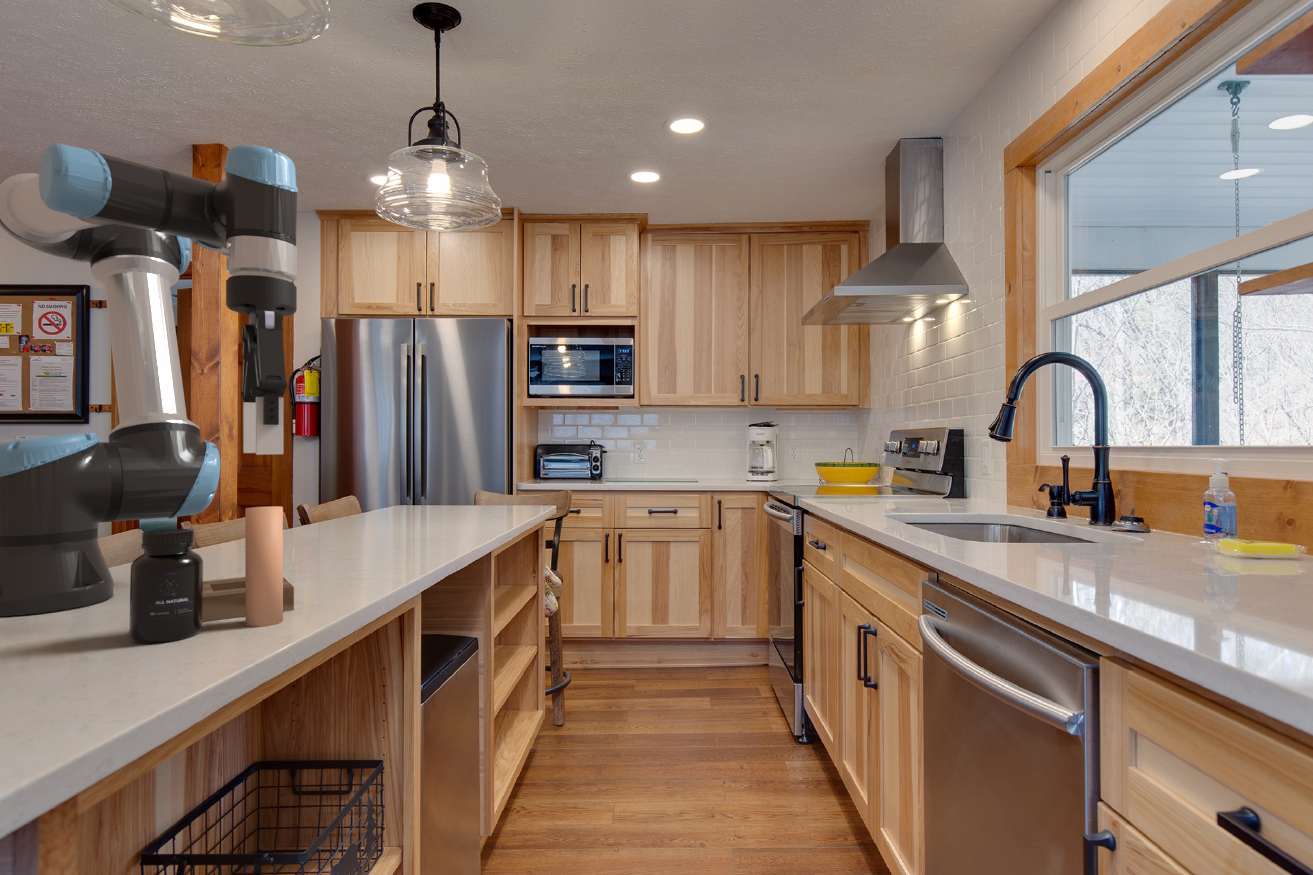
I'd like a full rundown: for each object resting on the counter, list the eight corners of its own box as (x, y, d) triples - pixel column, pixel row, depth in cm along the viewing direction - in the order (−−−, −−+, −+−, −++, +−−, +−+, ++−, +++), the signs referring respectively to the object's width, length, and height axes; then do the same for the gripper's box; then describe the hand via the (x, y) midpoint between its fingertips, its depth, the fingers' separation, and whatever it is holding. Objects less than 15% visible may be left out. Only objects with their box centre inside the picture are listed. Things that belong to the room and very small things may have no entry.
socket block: (179, 605, 95) (179, 583, 95) (279, 593, 102) (279, 573, 102) (183, 624, 85) (183, 599, 85) (293, 609, 92) (293, 586, 92)
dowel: (243, 621, 86) (243, 507, 86) (280, 616, 88) (280, 505, 88) (247, 628, 83) (247, 510, 83) (285, 623, 85) (285, 508, 85)
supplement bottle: (165, 646, 76) (165, 535, 76) (113, 643, 77) (113, 534, 77) (217, 629, 82) (217, 527, 82) (168, 626, 84) (168, 526, 84)
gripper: (218, 293, 93) (218, 452, 93) (236, 252, 73) (236, 455, 73) (281, 300, 98) (281, 452, 98) (314, 263, 77) (315, 454, 77)
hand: (262, 453), depth 85 cm, fingers open, 13 cm apart
